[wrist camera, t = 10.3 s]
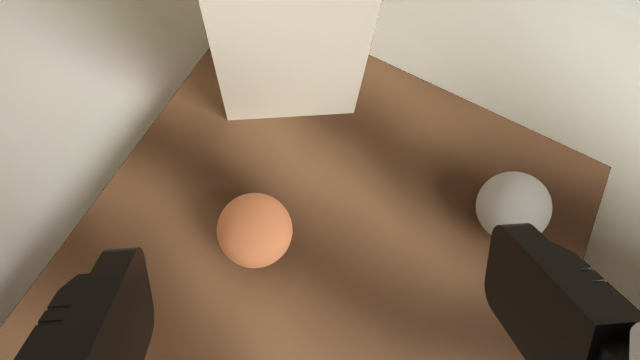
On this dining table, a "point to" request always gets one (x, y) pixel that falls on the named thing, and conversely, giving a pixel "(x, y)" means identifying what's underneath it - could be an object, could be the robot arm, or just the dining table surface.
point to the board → (322, 225)
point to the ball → (254, 230)
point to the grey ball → (513, 201)
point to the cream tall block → (289, 54)
